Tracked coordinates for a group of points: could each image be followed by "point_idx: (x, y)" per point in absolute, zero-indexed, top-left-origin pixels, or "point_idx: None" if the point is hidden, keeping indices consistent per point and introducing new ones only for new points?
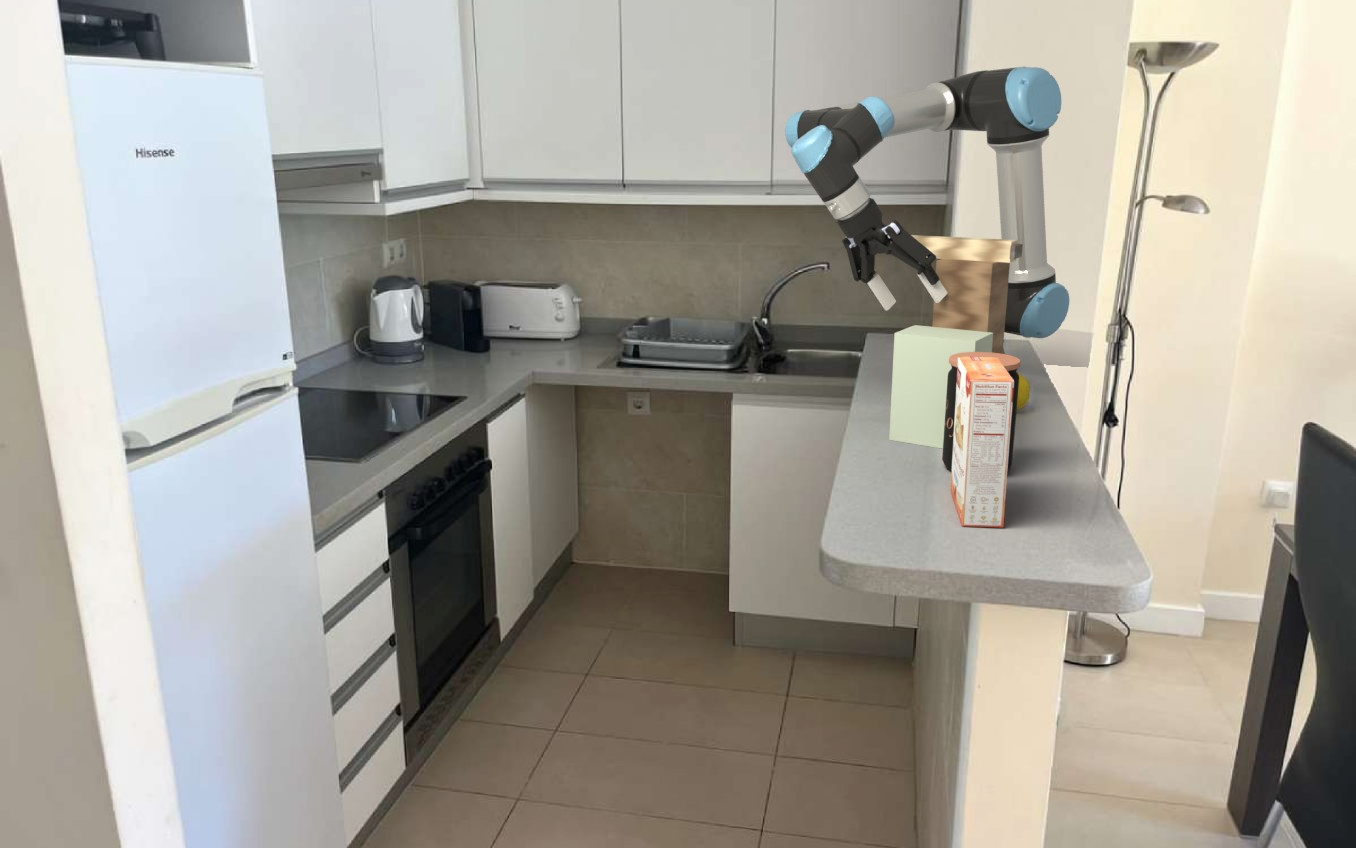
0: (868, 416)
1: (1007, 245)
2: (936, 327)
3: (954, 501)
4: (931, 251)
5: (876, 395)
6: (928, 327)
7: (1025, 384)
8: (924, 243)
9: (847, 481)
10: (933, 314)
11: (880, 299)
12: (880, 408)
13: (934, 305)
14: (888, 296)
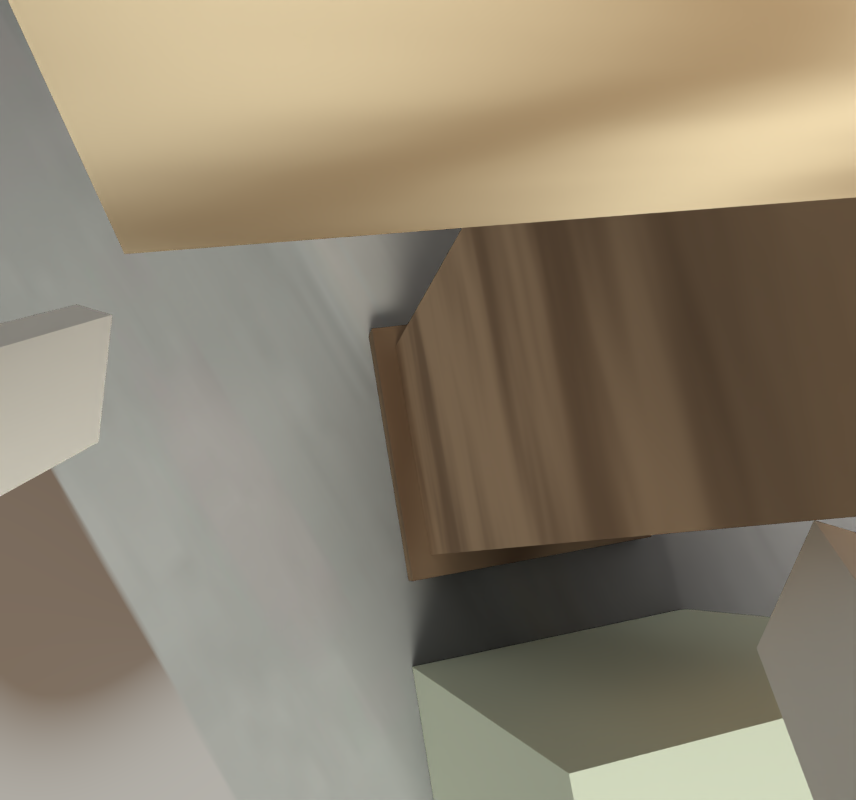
0: (186, 629)
1: None
2: (736, 743)
3: None
4: (850, 138)
5: (24, 295)
6: (697, 788)
7: None
8: (820, 25)
9: None
10: (611, 536)
11: (3, 489)
12: (158, 478)
13: (651, 532)
14: (44, 384)
